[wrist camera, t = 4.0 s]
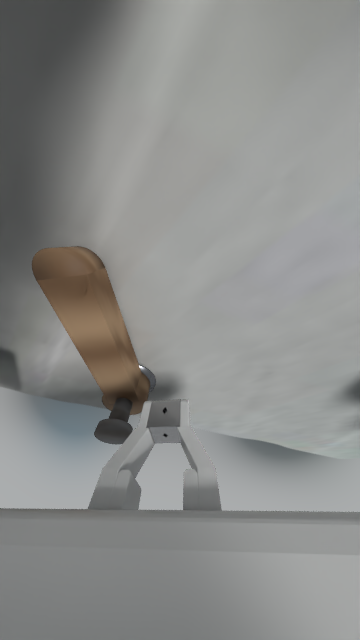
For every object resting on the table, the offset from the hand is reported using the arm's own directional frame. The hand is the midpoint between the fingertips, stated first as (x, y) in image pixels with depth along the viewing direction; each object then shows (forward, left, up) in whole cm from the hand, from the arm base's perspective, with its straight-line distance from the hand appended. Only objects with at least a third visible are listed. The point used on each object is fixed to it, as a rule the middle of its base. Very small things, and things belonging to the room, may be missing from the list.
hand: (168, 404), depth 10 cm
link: (0, -7, -8) cm, 11 cm away
